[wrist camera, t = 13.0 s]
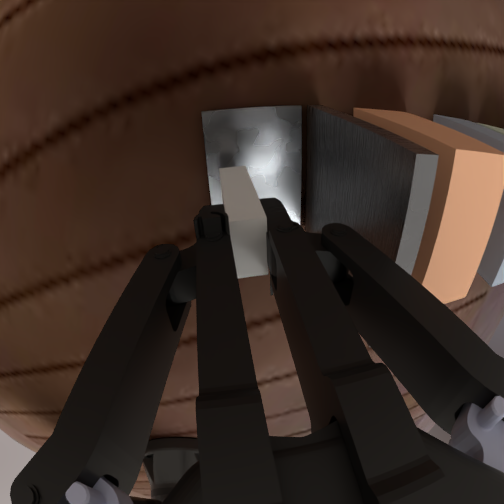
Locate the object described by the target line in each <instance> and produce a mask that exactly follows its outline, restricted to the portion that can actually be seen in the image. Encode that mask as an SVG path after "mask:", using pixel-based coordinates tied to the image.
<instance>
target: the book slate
mask: <svg viewBox="0 0 504 504" xmlns="http://www.w3.org/2000/svg"><path fill="white" fill-rule="evenodd" d="M433 122H436V123H438V124H441V125H444V126H446V127H449V128H451V129H454V130H456V131H458V132H461V133H463V134H465V135H468V136H470V137H472V138H474V139H477V140H479V141H481V142H483V143H485V144H487V145H489V146H491V147H493V148H496V149H498V150H499V151H501V152H503V153H504V135H502V134H500V133H498V132H496V131H493V130H491V129H489V128H486V127H484V126H481V125H479V124H476V123H474V122H471V121H468V120H463V119H458V118H453V117H447V116H441V115H435V114H434V116H433ZM477 272H478V273H479V274H480V275H481V276H482V277H483V279H484V280H485V281H486V282H487V283H488V284H489V285H490V286H491V287H493V286H496V285H498V284H501V283H504V189H503V193H502V197H501V201H500V204H499V208H498V211H497V215H496V218H495V221H494V225H493V228H492V231H491V234H490V237H489V240H488V243H487V245H486V248H485V251H484V254H483V256H482V259H481V262H480V264H479V267H478V269H477Z"/></svg>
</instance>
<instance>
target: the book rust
mask: <svg viewBox="0 0 504 504" xmlns="http://www.w3.org/2000/svg"><path fill="white" fill-rule="evenodd" d="M353 117H356V118H359V119H361V120H364V121H366V122H369V123H371V124H374V125H376V126H378V127H381V128H383V129H385V130H388V131H390V132H392V133H394V134H397V135H399V136H401V137H403V138H405V139H408V140H410V141H412V142H414V143H416V144H418V145H420V146H422V147H424V148H426V149H428V150H430V151H432V152H434V153H436V154H438V155H439V157H438V164H437V170H436V176H435V181H434V187H433V192H432V197H431V202H430V206H429V211H428V215H427V219H426V224H425V228H424V232H423V236H422V240H421V243H420V247H419V251H418V254H417V258H416V261H415V265H414V268H413V271H412V274H411V276H412V277H413V278H414V279H416V280H417V281H418V282H419V283H420V284H421V285H423V286H424V287H425V288H426V289H427V290H428V291H429V292H431V293H432V294H433V295H434V296H435V297H436V298H437V299H439V300H440V301H441V302H442V303H443V304H445V303H448V302H451V301H455V300H458V299H461V298H464V297H466V295H467V293H468V290H469V288H470V286H471V284H472V281H473V279H474V277H475V274H476V272H477V269H478V267H479V264H480V262H481V259H482V256H483V254H484V251H485V248H486V245H487V243H488V240H489V237H490V234H491V231H492V228H493V225H494V221H495V218H496V215H497V211H498V208H499V204H500V201H501V197H502V193H503V189H504V153H503V152H501V151H499V150H498V149H496V148H493V147H491V146H489V145H487V144H485V143H483V142H481V141H479V140H477V139H474V138H472V137H470V136H468V135H465V134H463V133H461V132H458V131H456V130H454V129H451V128H449V127H446V126H444V125H441V124H438V123H436V122H433V121H430V120H428V119H425V118H422V117H419V116H416V115H413V114H410V113H407V112H400V111H390V110H379V109H365V108H354V110H353Z"/></svg>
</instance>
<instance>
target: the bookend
mask: <svg viewBox="0 0 504 504" xmlns="http://www.w3.org/2000/svg"><path fill="white" fill-rule="evenodd" d="M202 123H203V133H204V142H205V152H206V161H207V170H208V179H209V188H210V196H211V205H217V204H223V201H222V192H221V182H220V172H219V168H228V167H237V166H246V169H247V171H248V173H249V176H250V178H251V180H252V183H253V185H254V188H255V190H256V193H257V195H258V197H259V199H264V198H274V197H275V198H277V199H278V200H280V201H281V202H282V204H283V205H284V207H285V209H286V211H287V213H288V214H289V216H290V218H291V220H292V221H294V222H297V223H299V224H300V215H301V170H302V106H300V105H280V106H257V107H242V108H229V109H219V110H209V111H202ZM438 157H439V155H438V154H436V153H434V152H432V151H430V150H428V149H426V148H424V147H422V146H420V145H418V144H416V143H414V142H412V141H410V140H408V139H405V138H403V137H401V136H399V135H397V134H394V133H392V132H390V131H388V130H385V129H383V128H381V127H378V126H376V125H374V124H371V123H369V122H366V121H364V120H361V119H359V118H356V117H353V116H351V115H348V114H345V113H343V112H340V111H337V110H334V109H331V108H328V107H326V106H323V105H307V178H306V211H305V230H306V232H309V233H321V234H322V228H323V227H324V226H325V225H327V224H331V223H341V224H344V225H347V226H349V227H351V228H352V229H353V230H355V231H356V232H357V233H359V234H360V235H361V236H363V237H364V238H365V239H366V240H368V241H369V242H370V243H371V244H373V245H374V246H375V247H377V248H378V249H379V250H380V251H382V252H383V253H384V254H385V255H387V256H388V257H389V258H390V259H392V260H393V261H394V262H395V263H396V264H398V265H399V266H400V267H401V268H402V269H404V270H405V271H406V272H407V273H408V274H410V275H411V274H412V271H413V268H414V265H415V261H416V258H417V254H418V251H419V247H420V243H421V240H422V236H423V232H424V228H425V224H426V219H427V215H428V211H429V206H430V202H431V197H432V192H433V187H434V181H435V176H436V170H437V164H438ZM348 273H349V274H350V275H351V276H352V277H353V275H352V273H351V272H350V270H349V272H348ZM367 344H368V343H367ZM368 346H369V347H370V345H369V344H368Z"/></svg>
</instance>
